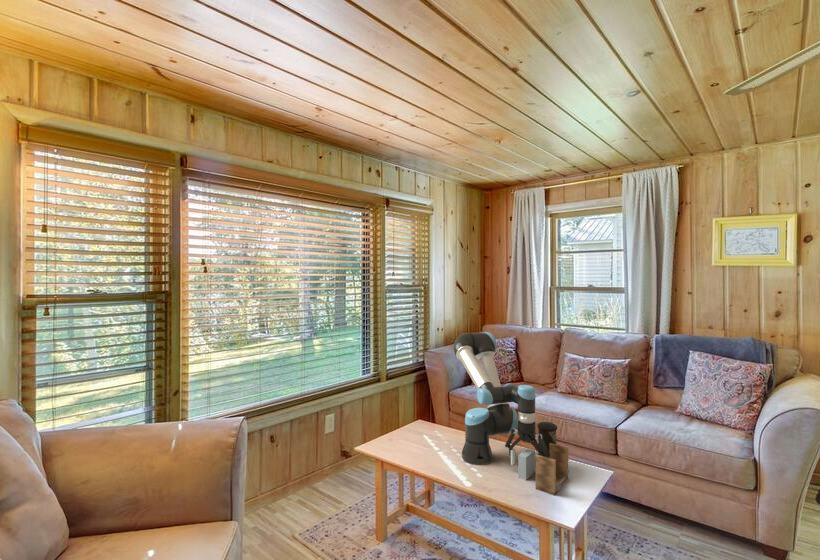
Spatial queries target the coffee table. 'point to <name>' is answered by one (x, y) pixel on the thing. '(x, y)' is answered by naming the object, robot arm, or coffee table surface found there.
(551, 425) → the container
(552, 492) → the brown cabinet body
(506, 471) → the coffee table surface
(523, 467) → the door slab
